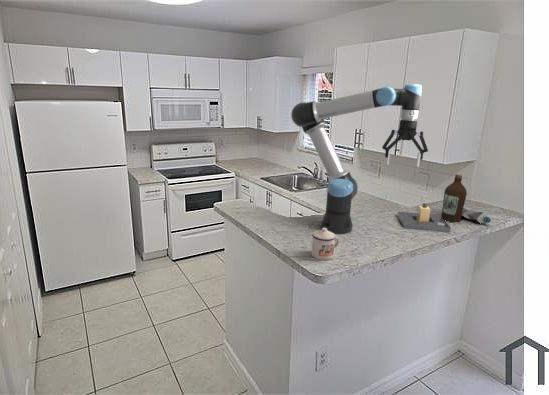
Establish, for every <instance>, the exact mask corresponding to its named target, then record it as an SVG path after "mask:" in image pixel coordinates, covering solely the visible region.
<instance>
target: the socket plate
mask: <svg viewBox="0 0 549 395" xmlns="http://www.w3.org/2000/svg"><path fill="white" fill-rule="evenodd" d="M417 213H418V212H407V211H397V213H396V214H397V218H398V220H399V222H400V225H401V226H402V228H403V229H412V230H419V229H420V230H421V231H429V230H431V231H430V232H439V231H440V232H441V233H449V232H450V233H451V229H452V227H451V226H450V225H449V224H448V222H447V221H445V220H444V219H443V218H442V217H441V215H440V214H432V213H430V217H429V222H424V221H416V219H417ZM414 220H415V221H414Z"/></svg>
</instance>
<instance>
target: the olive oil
mask: <svg viewBox="0 0 549 395" xmlns="http://www.w3.org/2000/svg"><path fill="white" fill-rule="evenodd" d="M454 176H455V177H454V180H453V182H451V183H450V184H448V186H446V187H445V189H444V194H443V201H442V202H443V203H442V209H441V215H440V216H441V217H442V218H443V219H444V220H446V221H445V222H447V221H450V222H449V223H452V222H458V223H460V222H461V218H462V211H463V208H464V206H465V203H466V199H467V189H466V187H465V186H464V185H463V183H462V178H463V175H461V174H455V175H454ZM459 221H460V222H459Z"/></svg>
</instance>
